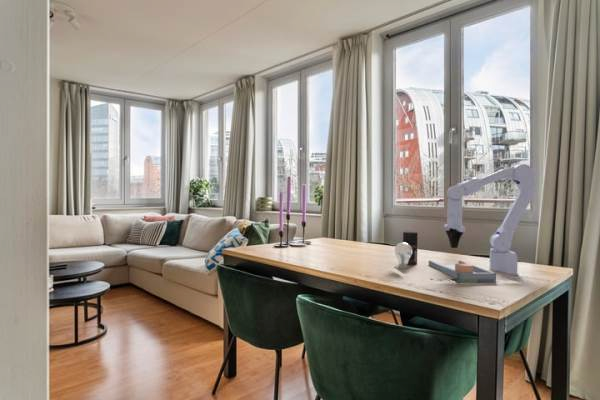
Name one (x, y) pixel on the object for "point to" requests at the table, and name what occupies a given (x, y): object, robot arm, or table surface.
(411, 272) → the table surface
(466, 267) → the block
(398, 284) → the table surface
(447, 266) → the trap box
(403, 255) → the light bulb
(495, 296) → the table surface
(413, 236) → the dark brown rectangular block
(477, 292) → the table surface
